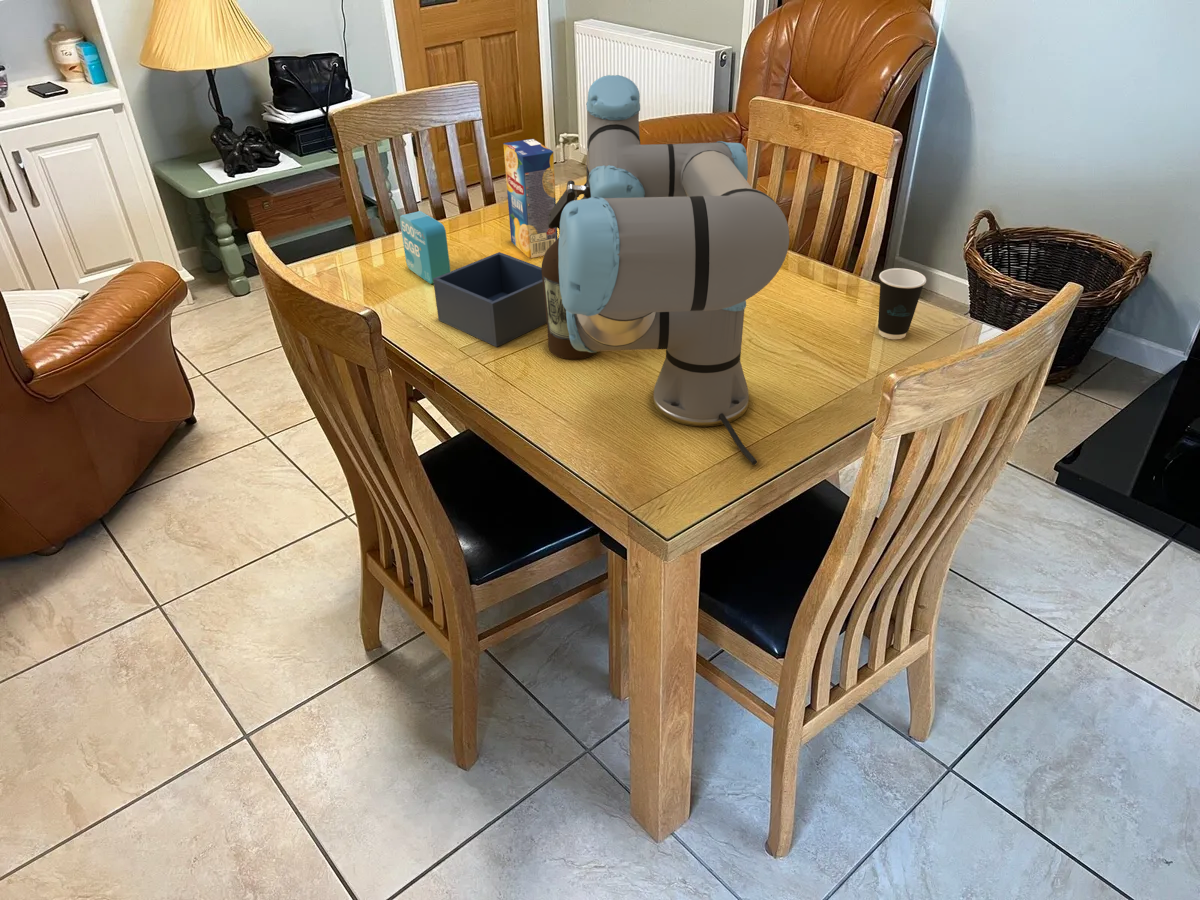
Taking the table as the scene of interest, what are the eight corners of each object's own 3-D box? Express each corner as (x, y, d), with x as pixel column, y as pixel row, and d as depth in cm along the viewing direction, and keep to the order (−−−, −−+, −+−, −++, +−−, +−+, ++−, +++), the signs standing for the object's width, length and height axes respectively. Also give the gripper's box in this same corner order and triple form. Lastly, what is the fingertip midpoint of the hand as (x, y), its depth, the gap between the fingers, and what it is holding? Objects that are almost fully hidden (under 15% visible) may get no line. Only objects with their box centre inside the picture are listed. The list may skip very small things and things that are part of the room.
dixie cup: (888, 347, 158) (899, 289, 151) (860, 328, 164) (870, 272, 158) (924, 338, 160) (936, 281, 154) (895, 320, 166) (906, 264, 160)
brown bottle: (559, 329, 165) (554, 197, 151) (612, 338, 162) (612, 205, 148) (535, 355, 157) (528, 219, 143) (591, 366, 154) (589, 228, 140)
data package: (406, 268, 191) (398, 213, 184) (425, 262, 193) (418, 208, 186) (432, 286, 183) (425, 230, 176) (452, 280, 185) (445, 224, 178)
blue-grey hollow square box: (561, 315, 170) (559, 274, 165) (496, 347, 160) (492, 303, 155) (502, 292, 180) (499, 251, 175) (438, 320, 170) (432, 278, 165)
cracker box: (538, 236, 204) (532, 138, 192) (558, 252, 196) (553, 151, 183) (511, 241, 202) (503, 143, 189) (529, 258, 194) (522, 156, 181)
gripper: (688, 145, 141) (675, 229, 160) (530, 147, 140) (536, 231, 159) (691, 183, 138) (678, 264, 157) (530, 185, 137) (536, 266, 156)
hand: (606, 248), depth 158 cm, fingers open, 13 cm apart
